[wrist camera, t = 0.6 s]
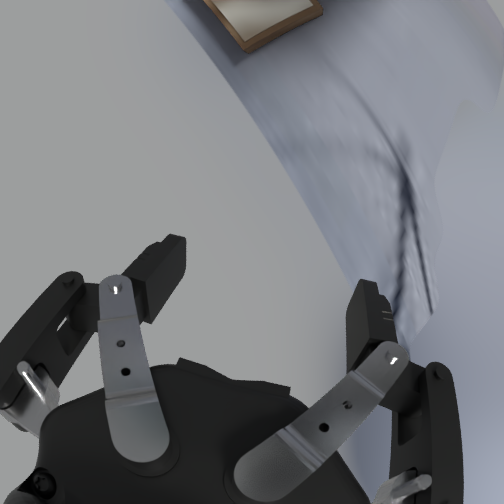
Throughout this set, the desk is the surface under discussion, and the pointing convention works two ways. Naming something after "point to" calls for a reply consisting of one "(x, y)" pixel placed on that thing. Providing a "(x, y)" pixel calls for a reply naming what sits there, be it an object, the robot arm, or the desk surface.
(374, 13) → the desk surface
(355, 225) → the desk surface
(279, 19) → the tray
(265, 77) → the desk surface
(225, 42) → the desk surface
